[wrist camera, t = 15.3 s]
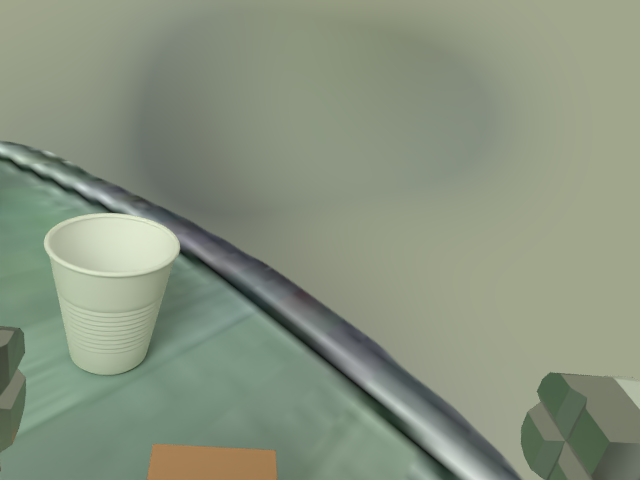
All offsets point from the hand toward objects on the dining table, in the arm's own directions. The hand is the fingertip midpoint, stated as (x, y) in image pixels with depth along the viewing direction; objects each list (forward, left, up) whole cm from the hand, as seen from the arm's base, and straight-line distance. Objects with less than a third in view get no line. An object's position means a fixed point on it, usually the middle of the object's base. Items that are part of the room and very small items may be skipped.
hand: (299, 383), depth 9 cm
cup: (-17, +32, -28) cm, 46 cm away
